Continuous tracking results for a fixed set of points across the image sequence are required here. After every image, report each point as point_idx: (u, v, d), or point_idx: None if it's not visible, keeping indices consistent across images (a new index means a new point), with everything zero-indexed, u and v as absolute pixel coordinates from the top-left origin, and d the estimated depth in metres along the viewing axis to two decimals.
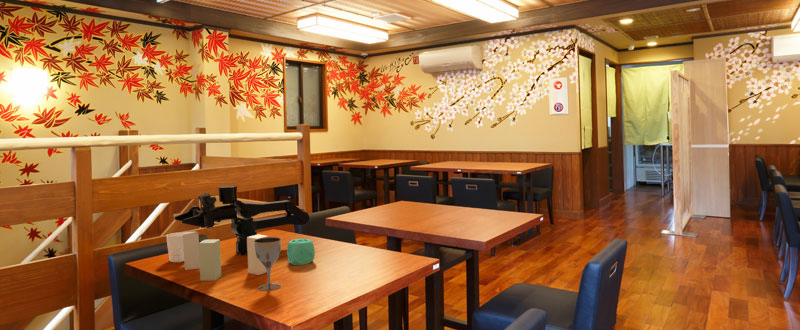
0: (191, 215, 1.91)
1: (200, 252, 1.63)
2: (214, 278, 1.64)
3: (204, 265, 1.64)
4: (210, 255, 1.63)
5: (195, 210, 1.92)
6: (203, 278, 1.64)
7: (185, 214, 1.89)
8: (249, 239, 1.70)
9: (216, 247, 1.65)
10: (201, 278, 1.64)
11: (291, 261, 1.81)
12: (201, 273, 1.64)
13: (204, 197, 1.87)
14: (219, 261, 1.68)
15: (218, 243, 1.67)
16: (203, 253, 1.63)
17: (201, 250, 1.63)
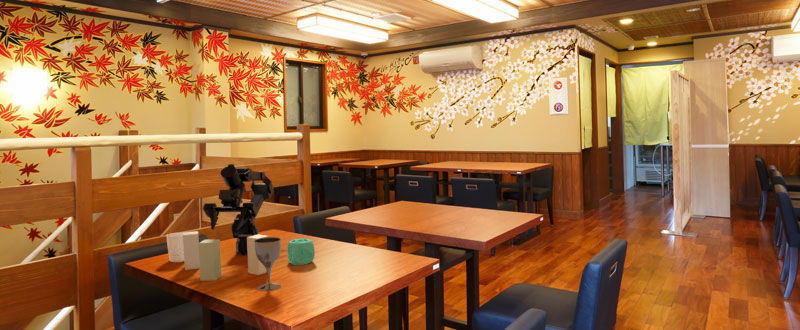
0: (215, 214, 1.84)
1: (200, 252, 1.63)
2: (214, 278, 1.64)
3: (204, 265, 1.64)
4: (210, 255, 1.63)
5: (214, 208, 1.84)
6: (203, 278, 1.64)
7: (213, 218, 1.82)
8: (249, 239, 1.70)
9: (216, 247, 1.65)
10: (201, 278, 1.64)
11: (291, 261, 1.81)
12: (201, 273, 1.64)
13: (230, 195, 1.80)
14: (219, 261, 1.68)
15: (218, 242, 1.67)
16: (203, 253, 1.63)
17: (201, 250, 1.63)
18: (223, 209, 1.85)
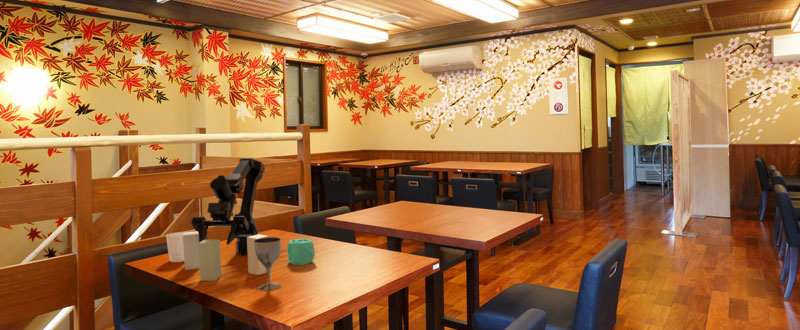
0: (204, 228, 1.74)
1: (200, 252, 1.63)
2: (214, 278, 1.64)
3: (204, 265, 1.64)
4: (210, 255, 1.63)
5: (202, 222, 1.74)
6: (203, 278, 1.64)
7: (202, 233, 1.72)
8: (249, 239, 1.70)
9: (216, 247, 1.65)
10: (201, 278, 1.64)
11: (291, 261, 1.81)
12: (201, 273, 1.64)
13: (220, 209, 1.70)
14: (219, 261, 1.68)
15: (218, 243, 1.67)
16: (203, 253, 1.63)
17: (201, 250, 1.63)
18: (212, 223, 1.74)
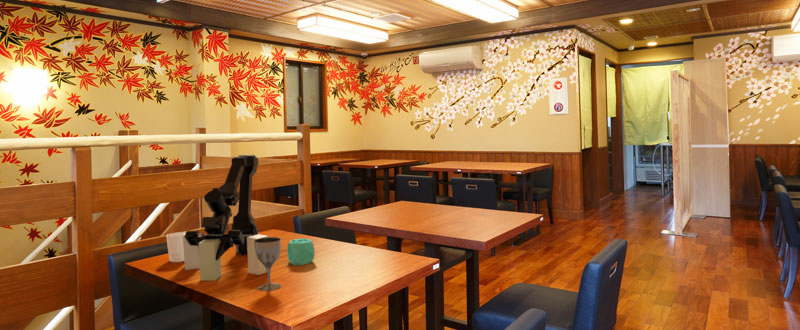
0: None
1: (200, 252, 1.63)
2: (214, 278, 1.64)
3: (204, 265, 1.64)
4: (210, 255, 1.63)
5: None
6: (203, 278, 1.64)
7: None
8: (249, 239, 1.70)
9: (216, 247, 1.65)
10: (201, 278, 1.64)
11: (291, 261, 1.81)
12: (201, 273, 1.64)
13: (215, 223, 1.65)
14: (219, 261, 1.68)
15: (218, 242, 1.67)
16: (203, 253, 1.63)
17: (201, 250, 1.63)
18: (207, 237, 1.70)
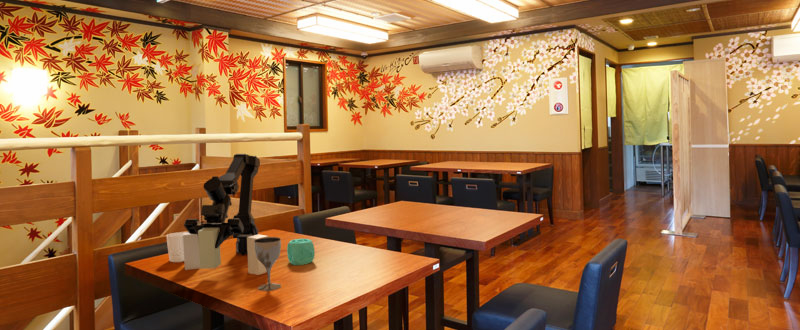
0: None
1: (199, 240, 1.63)
2: (213, 266, 1.64)
3: (203, 253, 1.63)
4: (210, 243, 1.63)
5: (196, 224, 1.68)
6: (202, 266, 1.64)
7: None
8: (249, 239, 1.70)
9: (215, 235, 1.65)
10: (200, 266, 1.64)
11: (291, 261, 1.81)
12: (200, 261, 1.64)
13: (214, 211, 1.65)
14: (219, 249, 1.67)
15: (218, 231, 1.67)
16: (203, 241, 1.63)
17: (200, 238, 1.63)
18: (206, 225, 1.69)
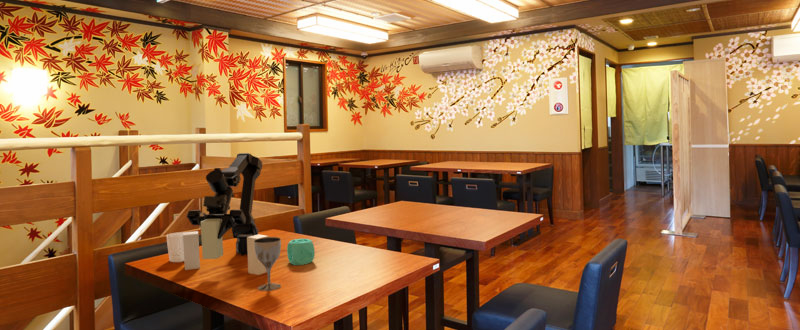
0: None
1: (202, 231, 1.65)
2: (216, 256, 1.66)
3: (206, 243, 1.65)
4: (212, 234, 1.65)
5: None
6: (205, 256, 1.66)
7: None
8: (249, 239, 1.70)
9: (218, 226, 1.67)
10: (203, 256, 1.66)
11: (291, 261, 1.81)
12: (203, 252, 1.66)
13: (216, 202, 1.67)
14: (221, 240, 1.70)
15: (220, 222, 1.69)
16: (205, 232, 1.65)
17: (203, 229, 1.65)
18: (209, 217, 1.71)
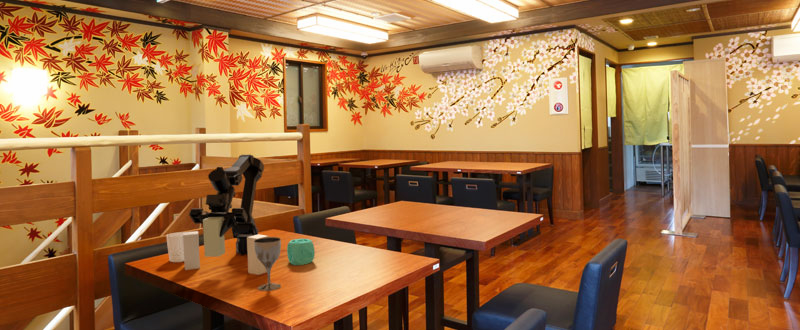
0: None
1: (204, 229, 1.67)
2: (218, 254, 1.67)
3: (208, 241, 1.67)
4: (214, 231, 1.67)
5: None
6: (207, 254, 1.68)
7: None
8: (249, 239, 1.70)
9: (220, 224, 1.68)
10: (205, 254, 1.68)
11: (291, 261, 1.81)
12: (205, 249, 1.67)
13: (219, 201, 1.69)
14: (223, 238, 1.71)
15: (222, 220, 1.71)
16: (207, 230, 1.67)
17: (205, 227, 1.67)
18: (211, 215, 1.73)
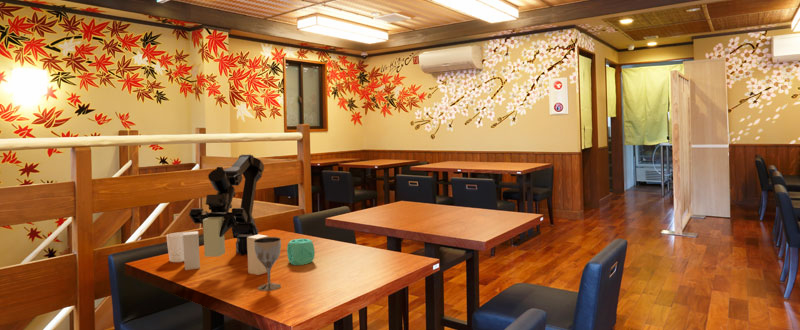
0: None
1: (204, 229, 1.67)
2: (218, 254, 1.67)
3: (208, 241, 1.67)
4: (214, 231, 1.67)
5: None
6: (207, 254, 1.68)
7: None
8: (249, 239, 1.70)
9: (220, 224, 1.68)
10: (205, 254, 1.68)
11: (291, 261, 1.81)
12: (205, 249, 1.67)
13: (219, 201, 1.69)
14: (223, 238, 1.71)
15: (222, 220, 1.71)
16: (207, 230, 1.67)
17: (205, 227, 1.67)
18: (211, 215, 1.73)
